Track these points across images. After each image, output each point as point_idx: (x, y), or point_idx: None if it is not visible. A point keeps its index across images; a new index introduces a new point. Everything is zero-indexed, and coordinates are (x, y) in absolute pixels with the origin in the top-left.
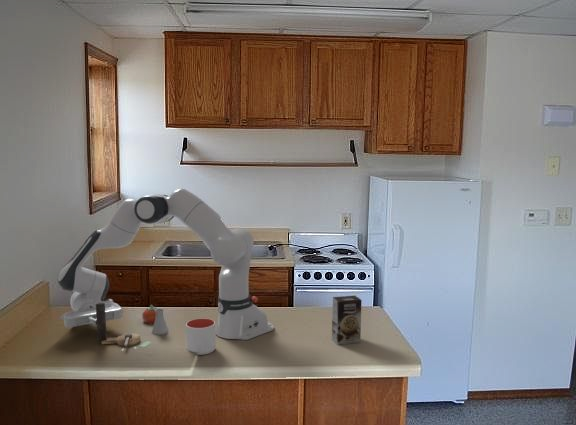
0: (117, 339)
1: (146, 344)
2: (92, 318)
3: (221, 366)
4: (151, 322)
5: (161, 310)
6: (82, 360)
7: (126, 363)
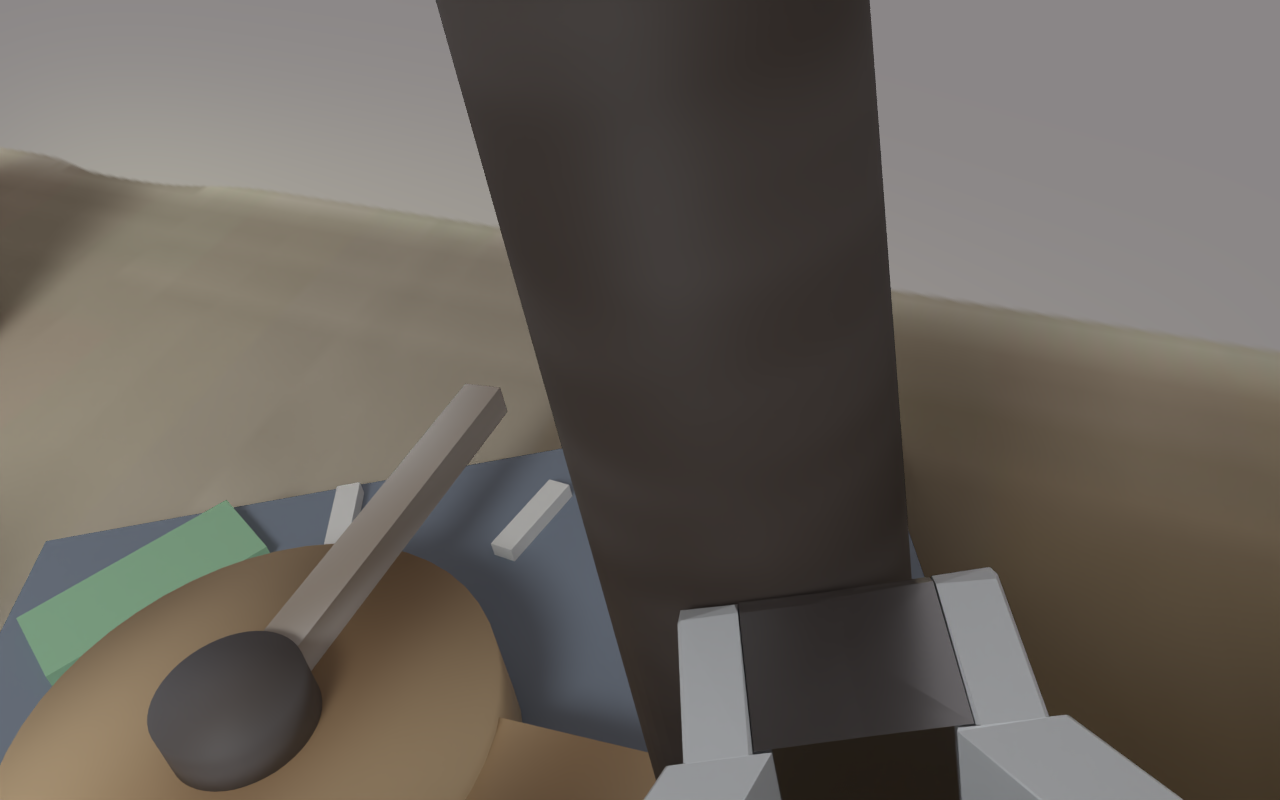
0: (488, 702)
1: (141, 565)
2: (1095, 791)
3: (10, 171)
4: None
5: None
6: (1242, 546)
7: None
